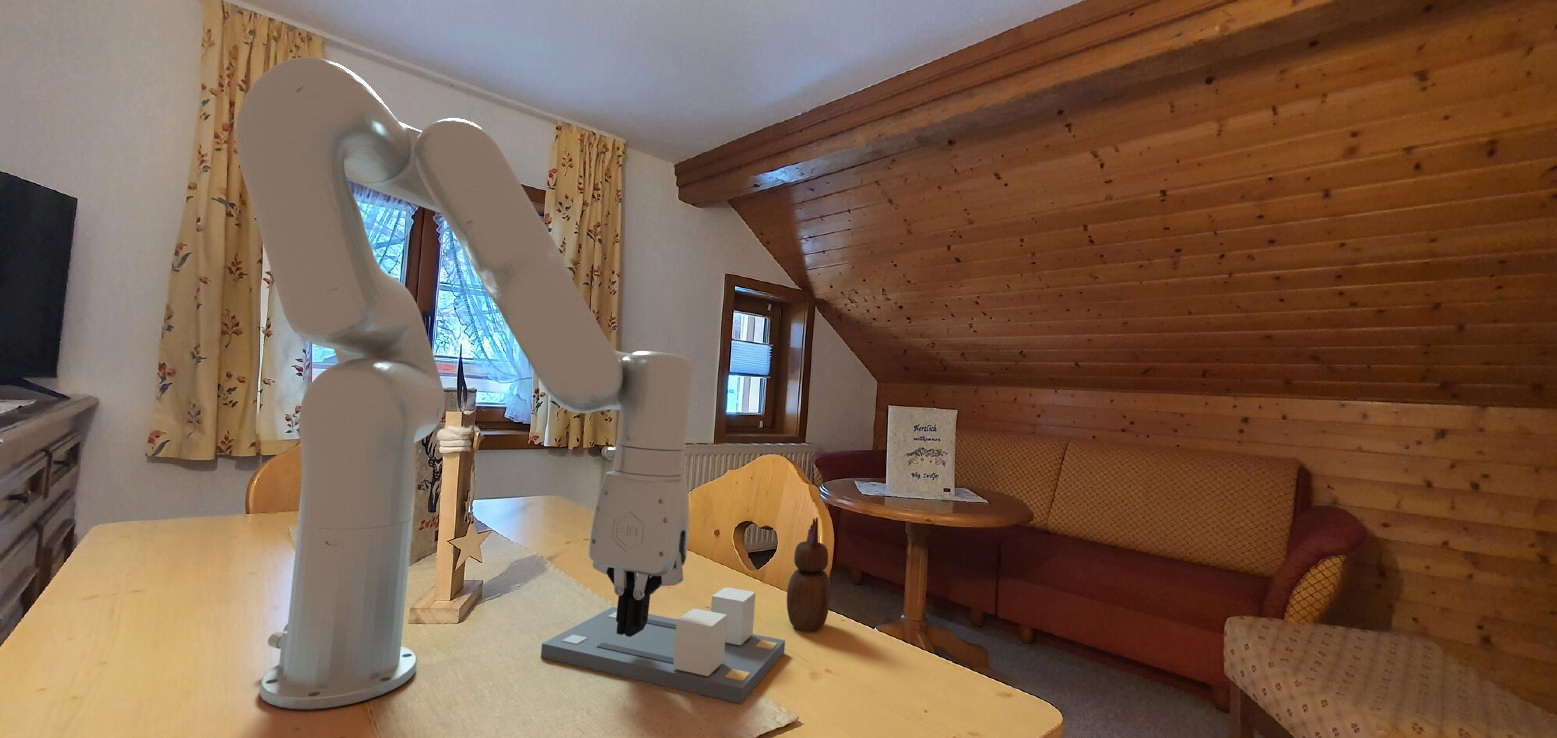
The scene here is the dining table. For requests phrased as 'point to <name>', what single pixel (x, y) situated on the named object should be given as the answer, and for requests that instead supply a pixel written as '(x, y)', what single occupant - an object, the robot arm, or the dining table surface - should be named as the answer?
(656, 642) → the switch panel
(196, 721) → the dining table surface
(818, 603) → the wooden figurine
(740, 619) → the tab far
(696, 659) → the tab near
